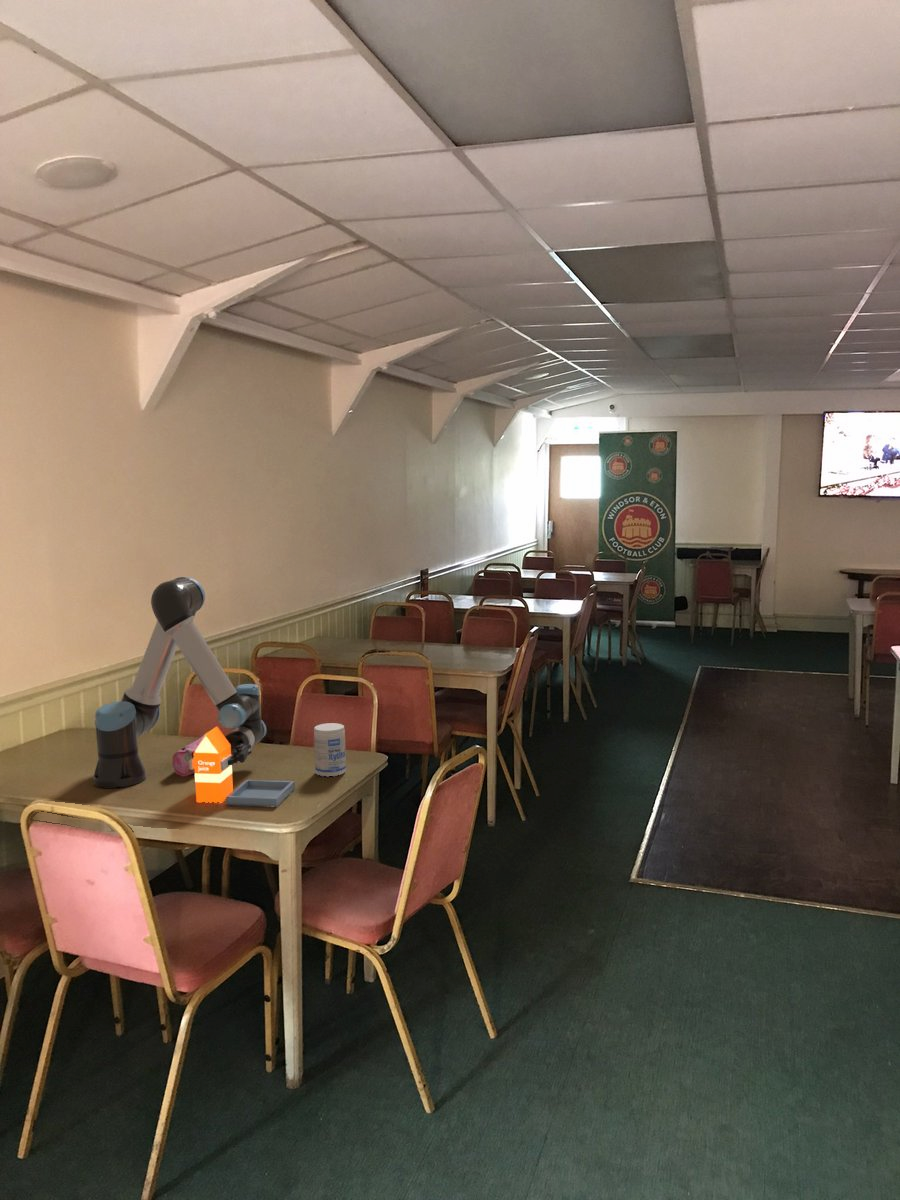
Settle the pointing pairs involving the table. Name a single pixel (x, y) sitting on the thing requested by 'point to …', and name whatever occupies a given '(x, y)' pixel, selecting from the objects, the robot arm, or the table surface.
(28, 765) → the table surface
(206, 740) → the orange juice
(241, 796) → the dish
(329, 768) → the supplement tub
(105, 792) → the table surface
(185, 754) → the pencil case
